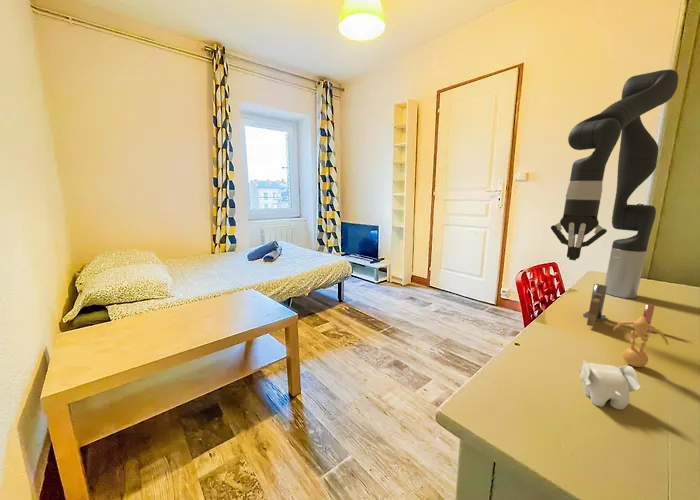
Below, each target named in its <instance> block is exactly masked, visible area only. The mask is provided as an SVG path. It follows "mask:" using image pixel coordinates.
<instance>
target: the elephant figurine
mask: <svg viewBox="0 0 700 500" xmlns="http://www.w3.org/2000/svg"><path fill="white" fill-rule="evenodd" d="M578 372H579V373H580V375H579V377H580V381H582V384H583V385H582V386H583V392H584V395H586V396H587V397H588V398H590V402H591V403H592V404H593V405H595V406H597V407H604V406H605V405H606V403H607V402H608V400H610V402H609V405H610V406H611V407H612V408H614V409H616V410H619V411H620V410H624V409H625V408H626V407H627V406H628V405H629V402H630V393H631V392H636V391H637V390H639V389H640V388H641V387H642V384H641V383H640V381H639V378H638V375H637V373H636V370H635V369H634V366H632V365H622V366H619V367H617V366H615V365H608V364H601V363H594V362H593V363H592V362H588V361H587V360H585V359H584V360H583V361H582V367H581V368H580V369H578Z"/></svg>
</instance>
